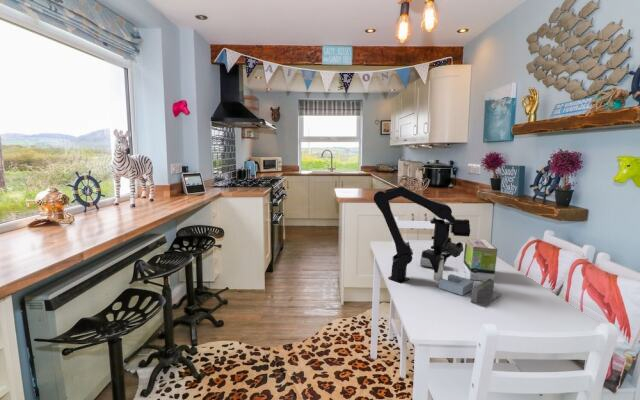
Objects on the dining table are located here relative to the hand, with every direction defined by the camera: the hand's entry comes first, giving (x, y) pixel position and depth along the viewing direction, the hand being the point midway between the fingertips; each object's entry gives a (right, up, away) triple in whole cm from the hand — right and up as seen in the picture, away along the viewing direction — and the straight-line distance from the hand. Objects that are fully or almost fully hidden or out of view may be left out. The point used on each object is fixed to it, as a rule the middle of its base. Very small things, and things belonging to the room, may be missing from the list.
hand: (438, 271), depth 141 cm
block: (+5, -6, -5) cm, 9 cm away
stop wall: (+13, -7, -13) cm, 20 cm away
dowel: (0, -4, +1) cm, 4 cm away
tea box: (+21, -4, +12) cm, 25 cm away
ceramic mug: (+3, -2, +22) cm, 23 cm away
